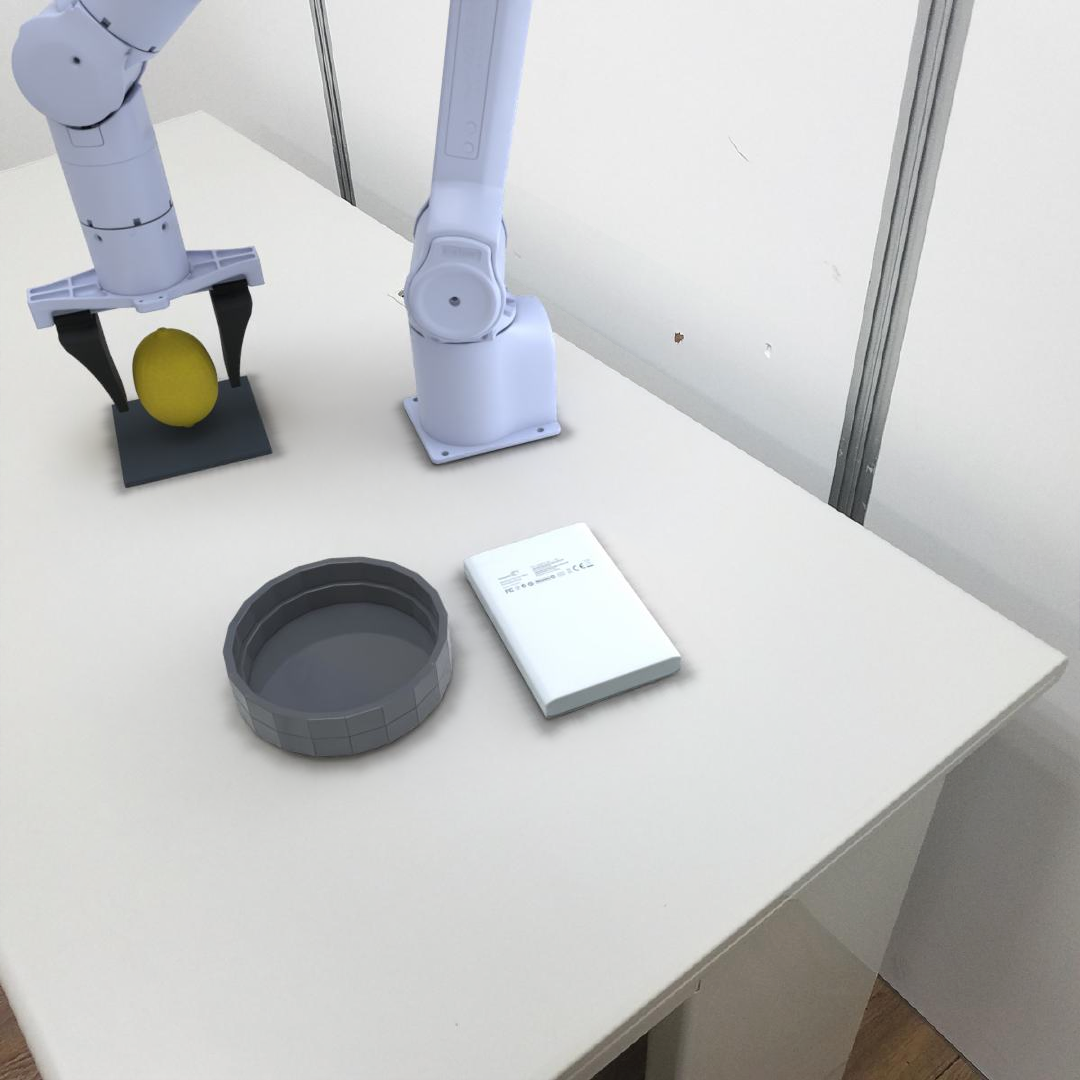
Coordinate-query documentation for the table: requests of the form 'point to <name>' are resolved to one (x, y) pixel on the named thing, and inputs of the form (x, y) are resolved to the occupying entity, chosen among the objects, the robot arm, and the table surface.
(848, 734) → the table surface
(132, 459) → the mat
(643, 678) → the hard drive
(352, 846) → the table surface
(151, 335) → the lemon
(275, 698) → the pan
